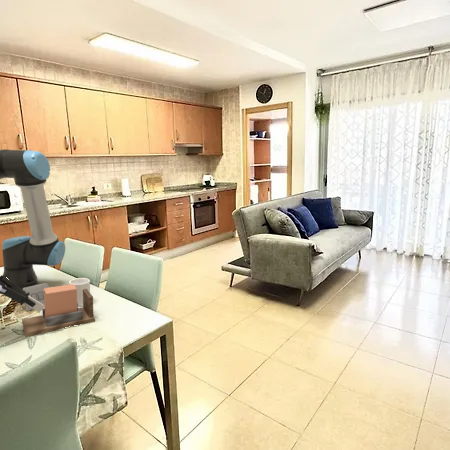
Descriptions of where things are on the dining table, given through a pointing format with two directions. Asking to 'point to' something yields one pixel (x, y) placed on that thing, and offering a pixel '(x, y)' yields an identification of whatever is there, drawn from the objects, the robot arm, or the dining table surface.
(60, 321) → the wooden block holder
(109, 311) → the dining table surface
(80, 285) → the mug
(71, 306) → the pink block
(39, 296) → the electrical switch
